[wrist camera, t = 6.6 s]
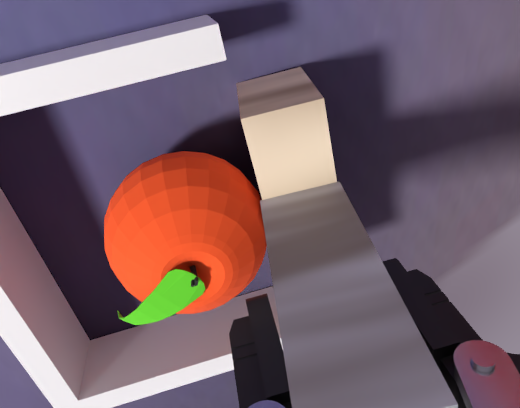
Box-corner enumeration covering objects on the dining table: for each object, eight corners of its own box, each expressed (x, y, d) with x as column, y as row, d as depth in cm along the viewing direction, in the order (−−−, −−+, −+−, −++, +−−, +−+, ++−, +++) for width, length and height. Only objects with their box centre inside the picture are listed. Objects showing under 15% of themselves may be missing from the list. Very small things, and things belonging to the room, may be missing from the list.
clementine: (175, 285, 24) (180, 393, 17) (67, 215, 20) (26, 318, 14) (279, 190, 22) (324, 271, 16) (179, 98, 19) (188, 156, 13)
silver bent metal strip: (234, 83, 19) (257, 319, 7) (302, 66, 19) (460, 272, 6) (279, 253, 24) (340, 569, 12) (333, 240, 24) (454, 547, 11)
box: (-95, 86, 16) (-162, 115, 13) (207, 14, 17) (218, 23, 14) (78, 360, 25) (64, 422, 21) (275, 300, 26) (293, 350, 22)
